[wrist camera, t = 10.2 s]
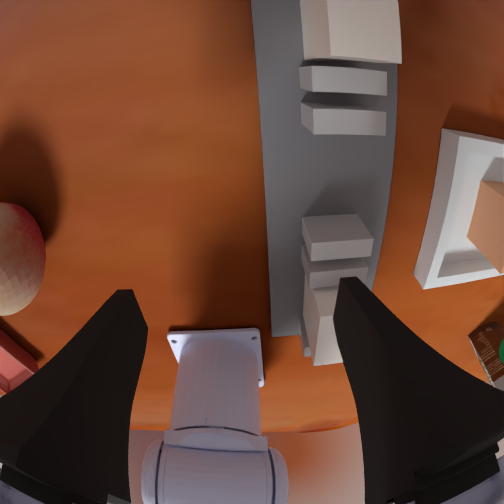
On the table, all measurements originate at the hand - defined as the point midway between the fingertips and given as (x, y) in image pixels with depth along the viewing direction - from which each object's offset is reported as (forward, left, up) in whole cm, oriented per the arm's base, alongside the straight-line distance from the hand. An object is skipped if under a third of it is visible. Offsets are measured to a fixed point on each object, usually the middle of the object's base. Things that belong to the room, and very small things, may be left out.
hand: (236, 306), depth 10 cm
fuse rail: (+2, -6, -9) cm, 11 cm away
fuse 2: (+11, -6, -9) cm, 15 cm away
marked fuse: (-1, -20, -9) cm, 22 cm away
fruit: (0, +17, -10) cm, 20 cm away
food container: (-20, -32, -10) cm, 39 cm away
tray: (-1, -20, -9) cm, 22 cm away
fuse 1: (-7, -6, -9) cm, 13 cm away
